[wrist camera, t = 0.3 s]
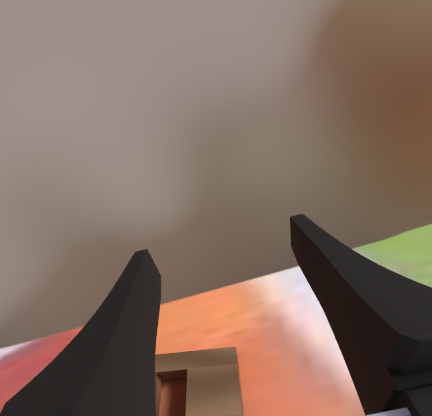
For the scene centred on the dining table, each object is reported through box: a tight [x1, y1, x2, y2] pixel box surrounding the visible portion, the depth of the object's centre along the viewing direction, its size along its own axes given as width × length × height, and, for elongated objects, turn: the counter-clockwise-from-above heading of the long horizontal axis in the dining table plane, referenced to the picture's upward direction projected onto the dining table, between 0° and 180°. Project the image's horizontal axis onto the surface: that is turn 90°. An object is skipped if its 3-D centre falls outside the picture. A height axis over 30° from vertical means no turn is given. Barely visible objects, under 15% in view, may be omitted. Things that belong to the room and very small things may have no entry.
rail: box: [155, 347, 243, 416], centre depth 24 cm, size 7×20×2 cm, turn 92°
